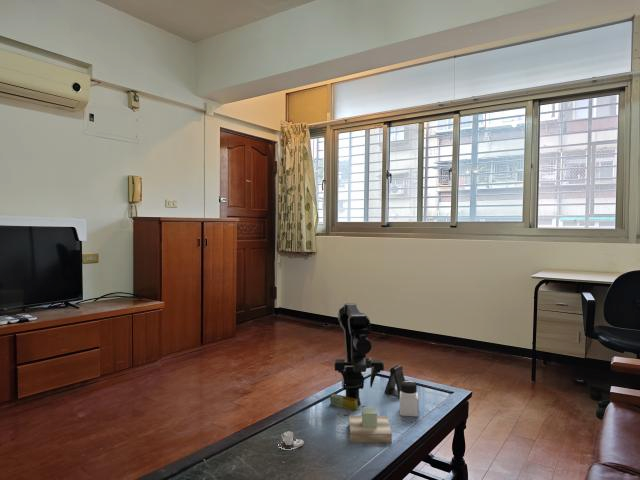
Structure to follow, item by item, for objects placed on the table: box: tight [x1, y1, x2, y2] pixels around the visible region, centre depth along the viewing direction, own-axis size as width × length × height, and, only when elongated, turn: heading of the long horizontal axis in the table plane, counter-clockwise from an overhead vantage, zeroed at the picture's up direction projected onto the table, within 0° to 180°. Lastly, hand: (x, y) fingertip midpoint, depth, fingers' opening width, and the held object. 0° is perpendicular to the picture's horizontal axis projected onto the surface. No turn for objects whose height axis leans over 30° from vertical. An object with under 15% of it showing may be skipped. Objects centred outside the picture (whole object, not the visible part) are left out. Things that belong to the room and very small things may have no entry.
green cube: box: [361, 407, 378, 428], centre depth 151 cm, size 5×5×5 cm
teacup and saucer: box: [277, 430, 304, 451], centre depth 144 cm, size 9×8×4 cm
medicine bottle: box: [399, 380, 419, 418], centre depth 168 cm, size 7×7×12 cm
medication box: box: [329, 393, 359, 411], centre depth 174 cm, size 12×3×4 cm, turn 56°
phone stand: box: [384, 364, 406, 398], centre depth 188 cm, size 9×6×12 cm, turn 50°
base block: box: [348, 415, 393, 443], centre depth 151 cm, size 14×14×3 cm
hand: (358, 387), depth 163 cm, fingers open, 9 cm apart
